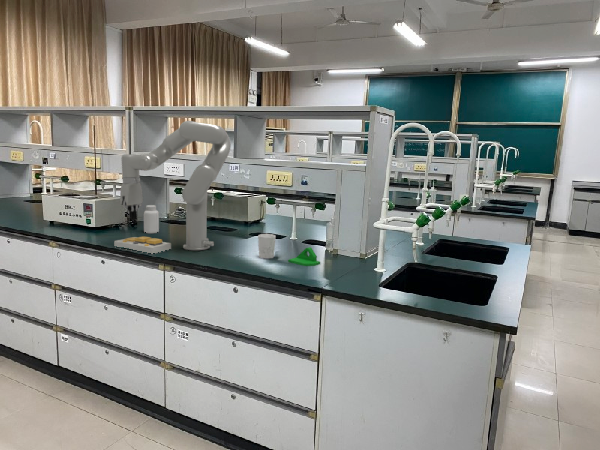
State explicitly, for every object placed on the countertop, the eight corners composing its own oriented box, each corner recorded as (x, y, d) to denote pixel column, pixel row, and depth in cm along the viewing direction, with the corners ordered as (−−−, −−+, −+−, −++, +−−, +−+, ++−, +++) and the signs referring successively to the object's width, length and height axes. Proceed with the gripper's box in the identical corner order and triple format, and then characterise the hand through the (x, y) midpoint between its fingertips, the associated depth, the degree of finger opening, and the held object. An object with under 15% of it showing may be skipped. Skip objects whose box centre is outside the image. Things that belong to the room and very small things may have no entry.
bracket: (288, 262, 198) (288, 247, 197) (299, 259, 204) (299, 245, 203) (309, 268, 191) (310, 252, 190) (320, 264, 197) (320, 249, 196)
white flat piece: (170, 249, 213) (170, 241, 212) (152, 254, 202) (152, 246, 202) (134, 242, 223) (133, 235, 223) (114, 247, 213) (114, 239, 212)
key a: (162, 245, 211) (162, 239, 210) (154, 247, 206) (154, 241, 206) (154, 243, 213) (154, 238, 212) (146, 245, 209) (146, 239, 208)
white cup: (255, 255, 208) (256, 234, 206) (272, 254, 211) (272, 233, 209) (260, 259, 201) (260, 237, 199) (277, 258, 203) (277, 237, 202)
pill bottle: (147, 234, 245) (146, 207, 243) (141, 231, 251) (141, 205, 249) (161, 232, 250) (160, 206, 248) (155, 230, 256) (155, 204, 254)
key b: (151, 243, 214) (151, 237, 213) (143, 245, 209) (143, 239, 209) (143, 242, 216) (143, 236, 216) (135, 243, 212) (135, 238, 211)
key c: (140, 244, 217) (140, 238, 217) (132, 246, 213) (132, 240, 212) (133, 242, 219) (132, 237, 219) (124, 244, 215) (124, 239, 214)
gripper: (137, 179, 219) (139, 216, 222) (112, 181, 206) (115, 221, 209) (149, 180, 216) (150, 217, 219) (124, 182, 203) (126, 222, 206)
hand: (133, 219), depth 214 cm, fingers closed
